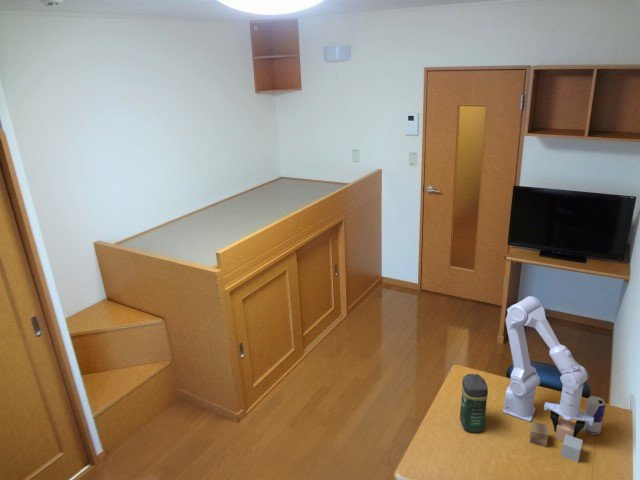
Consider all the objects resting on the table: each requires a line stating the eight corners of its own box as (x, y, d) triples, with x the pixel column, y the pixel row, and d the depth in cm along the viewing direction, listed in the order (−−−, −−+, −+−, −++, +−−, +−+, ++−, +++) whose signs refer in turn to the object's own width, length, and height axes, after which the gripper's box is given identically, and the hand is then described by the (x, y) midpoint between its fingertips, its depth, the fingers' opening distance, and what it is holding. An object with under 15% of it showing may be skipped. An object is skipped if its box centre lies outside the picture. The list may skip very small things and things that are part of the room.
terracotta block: (554, 438, 162) (556, 426, 160) (557, 429, 166) (559, 417, 164) (571, 444, 159) (573, 432, 158) (574, 434, 163) (576, 422, 161)
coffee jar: (487, 433, 166) (491, 389, 159) (463, 433, 166) (466, 389, 159) (480, 414, 175) (483, 371, 168) (457, 414, 175) (460, 371, 168)
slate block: (560, 456, 155) (562, 444, 153) (563, 446, 159) (565, 434, 157) (578, 462, 152) (580, 450, 151) (580, 452, 156) (582, 440, 154)
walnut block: (529, 443, 161) (531, 431, 159) (530, 432, 165) (532, 421, 163) (546, 447, 159) (548, 435, 157) (546, 436, 163) (548, 425, 161)
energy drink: (602, 436, 162) (608, 407, 158) (585, 434, 163) (590, 405, 159) (597, 424, 167) (602, 396, 162) (580, 423, 168) (585, 394, 164)
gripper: (543, 399, 158) (539, 432, 163) (593, 415, 150) (587, 449, 155) (548, 387, 163) (543, 419, 168) (597, 402, 156) (590, 435, 160)
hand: (565, 433), depth 162 cm, fingers closed on terracotta block, 5 cm apart
